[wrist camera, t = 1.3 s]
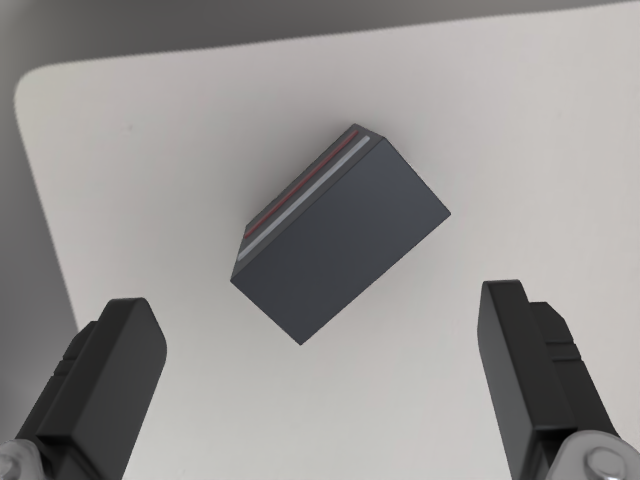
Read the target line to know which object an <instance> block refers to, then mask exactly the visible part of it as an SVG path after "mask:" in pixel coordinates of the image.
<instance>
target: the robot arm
mask: <svg viewBox="0 0 640 480" xmlns="http://www.w3.org/2000/svg"><path fill="white" fill-rule="evenodd" d="M477 335H478V345H479V351H480V356H481V360H482V363H483V367H484V371H485V375H486V379H487V383H488V387H489V391H490V395H491V399H492V403H493V406H494V410H495V414H496V418H497V422H498V426H499V430H500V434H501V438H502V442H503V446H504V450H505V453H506V457H507V461H508V465H509V469H510V473H511V477H512V480H640V453H639V452H638V451H637V450H636V449H634V448H633V447H632V446H631V445H630V444H628V443H627V442H625V441H624V440H622V439H621V437H620V436H619V435H618V433H617V432H616V430H615V428H614V427H613V425H612V423H611V421H610V418H609V416H608V414H607V412H606V410H605V407H604V405H603V403H602V401H601V399H600V396H599V394H598V392H597V390H596V388H595V386H594V383H593V381H592V379H591V377H590V375H589V372H588V370H587V368H586V366H585V364H584V361H582V360H581V355H580V353H579V350H578V348H577V346H576V344H574V342H573V337H572V335H571V333H570V331H569V329H568V326H567V324H566V322H565V320H564V318H562V317H561V316H560V315H559V314H558V313H557V312H556V311H555V310H554V309H553V308H552V307H551V306H550V305H549V304H548V303H547V302H529V301H528V299H527V296H526V293H525V291H524V288H523V286H522V284H521V282H520V281H519V280H518V279H516V280H496V281H484V282H483V284H482V291H481V300H480V308H479V317H478V327H477ZM166 356H167V345H166V340H165V337H164V335H163V333H162V331H161V328H160V326H159V324H158V322H157V320H156V318H155V316H154V314H153V312H152V309H151V307H150V305H149V303H148V301H147V300H146V299H145V298H122V299H112V300H110V301H109V302H108V303H107V305H106V306H105V308H104V310H103V312H102V314H101V316H100V317H99V319H98V321H91V322H90V323H89V324H88V325H87V326H86V327H85V328H84V329H83V330H81V331H80V332H79V333H78V334H77V335H76V336H75V337H74V339H73V340H72V342H71V343H70V345H69V347H68V349H67V350H66V352H65V354H64V355H63V360H62V361H60V362H59V364H58V366H57V368H56V369H55V371H54V376H51V378H50V379H49V381H48V383H47V385H46V386H45V388H44V390H43V392H42V393H41V395H40V397H39V398H38V400H37V402H36V403H35V405H34V407H33V409H32V410H31V412H30V414H29V416H28V417H27V419H26V421H25V423H24V424H23V426H22V428H21V429H20V431H19V433H18V434H17V436H16V437H15V439H14V440H10V441H7V442H4V443H2V444H0V480H122V477H123V474H124V472H125V469H126V466H127V464H128V461H129V458H130V456H131V453H132V450H133V448H134V445H135V442H136V440H137V437H138V434H139V431H140V429H141V426H142V423H143V421H144V418H145V415H146V413H147V410H148V407H149V405H150V402H151V399H152V397H153V394H154V391H155V389H156V386H157V383H158V380H159V378H160V375H161V372H162V370H163V367H164V364H165V361H166Z"/></svg>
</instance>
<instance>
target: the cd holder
mask: <svg viewBox="0 0 640 480" xmlns="http://www.w3.org/2000/svg"><path fill="white" fill-rule="evenodd" d="M450 215H451V213H450V211H449V210H448V209H447V208H446V207H445V206H444V204H443V203H442V202H441V201H440V200H439V199H438V198H437V196H436V195H435V194H434V193H433V192H432V191H431V190H430V188H429V187H428V186H427V185H426V184H425V183H424V182H423V180H422V179H421V178H420V177H419V176H418V175H417V173H416V172H415V171H414V170H413V169H412V168H411V167H410V165H409V164H408V163H407V162H406V161H405V160H404V159H403V157H402V156H401V155H400V154H399V153H398V152H397V151H396V149H395V148H394V147H393V146H392V145H391V144H390V142H389V141H388V140H387V139H386V138H385V137H383V136H381V135H378V134H376V133H374V132H372V131H370V130H368V129H366V128H364V127H362V126H359V125H357V124H353V125H352V126H351V127H350V128H349V129H348V130H347V131H346V132H345V133H344V134H343V135H342V136H341V137H340V138H339V139H338V140H337V141H336V142H334V143H333V144H332V145H331V146H330V147H329V148H328V149H327V150H326V151H325V152H324V153H323V154H322V155H321V156H320V157H319V158H318V159H317V160H315V161H314V162H313V163H312V164H311V165H310V166H309V167H308V168H307V169H306V170H305V171H304V172H303V173H302V174H301V175H300V176H299V177H298V178H296V179H295V180H294V181H293V182H292V183H291V184H290V185H289V186H288V187H287V188H286V189H285V190H284V191H283V192H282V193H281V194H280V195H279V196H277V197H276V198H275V199H274V200H273V201H272V202H271V203H270V204H269V205H268V206H267V207H266V208H265V209H264V210H263V211H262V212H261V213H260V214H258V215H257V216H256V217H255V218H254V219H253V220H252V221H251V222H250V223H249V224H248V225H247V226H246V229H245V232H244V235H243V239H242V242H241V246H240V249H239V252H238V256H237V259H236V262H235V266H234V269H233V272H232V276H231V279H230V282H231V283H232V284H234V285H235V286H236V287H237V288H238V289H239V290H240V291H241V292H242V293H243V294H244V295H246V296H247V297H248V298H249V299H250V300H251V301H252V302H253V303H254V304H255V305H256V306H258V307H259V308H260V309H261V310H262V311H263V312H264V313H265V314H266V315H267V316H269V317H270V318H271V319H272V320H273V321H274V322H275V323H276V324H277V325H278V326H279V327H281V328H282V329H283V330H284V331H285V332H286V333H287V334H288V335H289V336H290V337H291V338H293V339H294V340H295V341H296V342H297V343H298V344H299V345H302V344H303V343H304V342H306V341H307V340H308V339H309V338H310V337H311V336H312V335H314V334H315V333H316V332H317V331H318V330H319V329H320V328H322V327H323V326H324V325H325V324H326V323H327V322H329V321H330V320H331V319H332V318H333V317H334V316H335V315H337V314H338V313H339V312H340V311H341V310H342V309H343V308H345V307H346V306H347V305H348V304H349V303H350V302H351V301H353V300H354V299H355V298H356V297H357V296H358V295H359V294H361V293H362V292H363V291H364V290H365V289H366V288H367V287H369V286H370V285H371V284H372V283H373V282H374V281H376V280H377V279H378V278H379V277H380V276H381V275H382V274H384V273H385V272H386V271H387V270H388V269H389V268H390V267H392V266H393V265H394V264H395V263H396V262H397V261H398V260H400V259H401V258H402V257H403V256H404V255H405V254H406V253H408V252H409V251H410V250H411V249H412V248H413V247H414V246H416V245H417V244H418V243H419V242H420V241H421V240H422V239H424V238H425V237H426V236H427V235H428V234H429V233H431V232H432V231H433V230H434V229H435V228H436V227H437V226H439V225H440V224H441V223H442V222H443V221H444V220H445V219H447V218H448V217H449V216H450Z"/></svg>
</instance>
